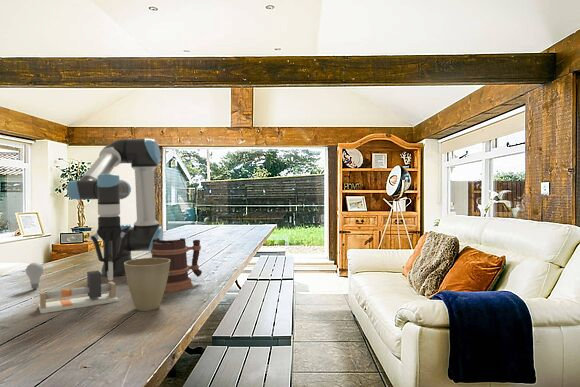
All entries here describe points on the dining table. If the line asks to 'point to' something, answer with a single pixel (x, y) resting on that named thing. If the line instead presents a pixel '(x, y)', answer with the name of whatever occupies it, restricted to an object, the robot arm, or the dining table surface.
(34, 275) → the lightbulb
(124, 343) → the dining table surface
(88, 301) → the rail
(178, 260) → the mug
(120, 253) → the robot arm
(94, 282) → the dark grey slider block
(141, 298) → the plant pot
